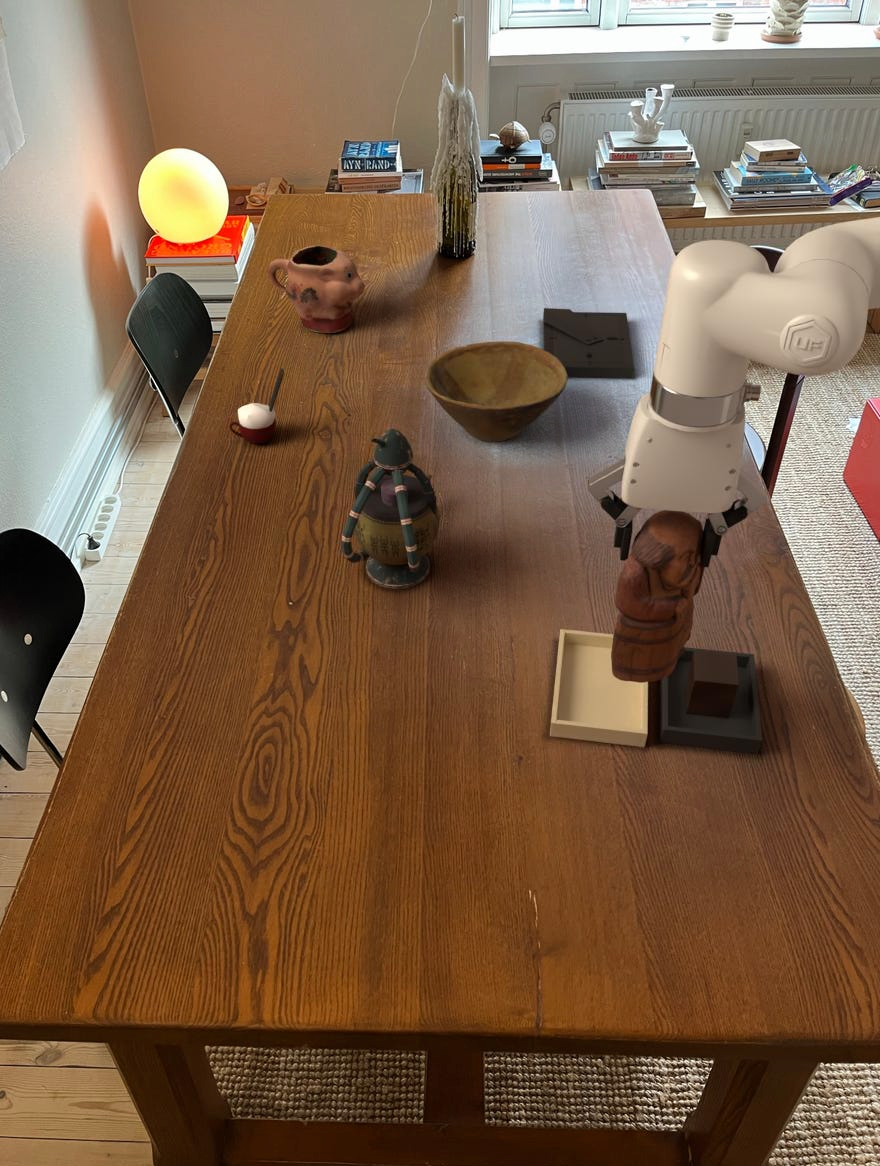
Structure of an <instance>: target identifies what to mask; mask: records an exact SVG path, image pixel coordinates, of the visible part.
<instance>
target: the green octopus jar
mask: <svg viewBox="0 0 880 1166" xmlns="http://www.w3.org/2000/svg"><path fill="white" fill-rule="evenodd" d="M370 442H371V443H375V444H376V445H375V448H374V453H373V459H371V461H370V460H369V461H367V463H365V465H364V466H363V467H362V468H361V469H359V471H358V475H357V478H356V479H355V485H354V487H353V493H354V503H353V505H352V507H351V509H350V512H349V514H348V517H347V520H346V522H345V525H344V528H343V531H342V536H341V542H340V545H341V552H342V554H343V556H344V558H345V559H346V560H347V561H348V562H350V563H351V564H354V563H355V564H356V563H360V562H366V565H365V569H366V573H367V576H368V577H369V578H370V579H371V581H372V582H373V583H375V584H377V585H379V586H381V587H384V588H388V589H397V590H398V589H399V590H401V589H406V588H411V587H413V586H416V585H418V584H420V583H421V582H422V581H424V580H425V579H426V577H428V574H429V573H430V566H431V564H430V563H431V562H430V560H429V558H428V556H427V555H426V554H427V553H428V552H429V551H430V549H431V548H432V546H433V544H434V543H435V541H436V540H437V539H438V534H439V529H440V521H441V515H440V514H441V513H440V509H439V506H438V504H437V501H438V500H437V496H436V492H435V488H434V487H433V485H432V482H431V480H432V477H433V475H431V474H429V473H424V471H423V470H422V469H421V467H418V466H416V465H415V464H413V460H414V451H413V449H412V447H411V445H410V442H409V440H408V439H407V437H406V436H405V435H404V434H403V433H402V432H401V431H399V430H397V429H395V428H392V427H391V428H390V429H388V430H386V431H385V432H384V433H383V434H382V435H381V436H380V437H379V438H378V437H377V438H372V439H371V440H370ZM375 468H376V469H375ZM374 469H375V470H374ZM372 471H373V473H372V474H371V475H370V473H371V472H372ZM407 471H409V472H410V473H412V474H413V475H414V476H412V475H408V474H406V472H407ZM369 475H370V476H369ZM354 534H355V538H356V539H355V540H356V542H357V543H358V545H359V546H360V547H361V549H360V550H359V551H358V552H355V551H354V549H353V545H352V540H353V536H354Z"/></svg>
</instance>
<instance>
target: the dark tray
mask: <svg viewBox="0 0 880 1166" xmlns="http://www.w3.org/2000/svg"><path fill="white" fill-rule="evenodd" d="M684 647H685V650H684V653H683V654H682V655H681V656H680V658H679V659H678V660H677V663H676V666H675V668H674V670H673V672H672V673H671V674H670V675H668V676H667V677H664V678H662V679H659V721H660V722H659V729H660V730H659V742H660V744H667V745H668V744H669V745H676V746H685V747H694V748H701V749H712V750H721V751H729V752H735V753H736V752H737V753H743V754H753V755H758V754H759V752H760V749H761V745H762V743H763V734H762V721H761V711H760V702H759V701H760V699H759V691H758V680H757V670H756V660H755V658H756V657H755V654H754V653H744V652H735V651H726V650H725V651H724V650H715V649H706V648H697V647H696V648H695V647H687V646H684ZM694 651H704V652H713V653H723V654H733V655H736V656H737V669H738V682H739V686H738V689H737V692H736V696H735V699H734V702H733V706H732V709H731V712H730V715H729V718H719V717H710V716H701V715H692V714H686V688H685V684H686V680H687V676H688V672H689V668H690V664H691V660H692V656H693V652H694Z"/></svg>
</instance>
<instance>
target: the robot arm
mask: <svg viewBox="0 0 880 1166" xmlns="http://www.w3.org/2000/svg"><path fill="white" fill-rule="evenodd" d="M666 286H667V287H666V293H665V298H664V304H663V312H662V317H661V322H660V330H659V336H658V341H657V349H656V355H655V361H654V366H653V373H652V379H651V383H650V384H651V385H650V389H649V391H648V392H646V393H644V394H643V395H642V396H641V397H640V399H639V401H638V403H637V406H636V407H635V410H634V414H633V417H632V421H631V424H630V427H629V432H628V436H627V439H626V445H625V450H624V452H623V453H624V454H623V457H622V459H621V460H619V461H617V462H615V463H613V464H611V465H610V466H608V467H607V468H605V469H603V470H601V471H600V472H598V473H596V474H594V475H592V476H590V477H589V478H588V479H587V490H588V492H589V493H590V494H591V495H592V497H593V498H594V499H595V500H596V501H597V502H598V503H599V504H600V507H601V509H602V510H603V511H604V512H606V513H607V515H608V516H609V517H610V518H612V519H613V520H614V524H615V531H614V536H613V537H614V538H613V548H616V549H617V548H618V549H619V561H623V562H626V561H627V559H628V557H629V556H630V549H631V544H632V543H631V542H632V536H633V529H634V528H633V527H634V526H633V525H634V524H633V523H634V521H633V519H634V518H635V517H636V516H637V515H638V514H639V513H640V511H641V510H643V509H646V510H656V511H657V510H658V511H663V510H669V511H683V512H686V513H696V514H697V513H698V514H699V513H700V514H706V515H707V517H706V518H705V521H704V525H703V534H702V539H701V552H700V562H701V566H703V567H704V568H709V567H710V563H711V559H712V556H718V555H719V551H720V547H721V543H722V538H723V536H724V535H727V533H728V532H729V529H730V528H732V527H734V526H735V525H737V524H739V523H741V522H742V521H744V520H745V519H746V518H748V515H749V514H750V513H754V512H755V511H757V510H758V509H759V508H761V507H763V506H764V505H765V504H766V503H767V502H768V497H767V490H766V488H764V487H762V486H761V485H760V483H758V482H757V481H756V480H754V479H753V478H752V477H751V476H750V474H748V473H747V472H746V471H745V470H744V469H742V468H741V466H742V460H743V453H744V441H745V432H746V431H745V430H746V407H745V404H746V403H749V402H750V401H752V402H753V401H755V402H759V401H760V398H761V393H762V391H761V390H762V385H761V384H753V383H752V382H748V378H747V374H748V370H749V367H750V362H751V361H753V362H755V363H756V362H757V363H759V364H761V365H765V366H767V367H769V368H773V369H775V370H778V371H781V372H785V373H789V374H792V375H796V376H803V377H818V376H819V377H820V376H825V375H828V374H831V373H834V372H836V371H839V370H840V369H841V368H843V367H845V366H846V365H847V364H848V363H849V362H851V361H852V360H853V359H854V357H855V356H856V355H857V353H858V352H859V351H860V349H861V347H862V344H863V342H864V338H865V334H866V331H867V323H868V314H869V310H872V309H880V216H875V217H869V218H863V219H856V220H850V221H843V222H837V223H834V224H833V223H832V224H828V225H825V226H822V227H819V228H817V229H813V230H811V231H808V232H807V233H805V234H803V235H802V236H800V237H798V238H797V239H795V240H794V241H793V242H792V243H791V244H789V245H788V246H787V247H786V248H785V250H784V251H783V253H782V254H781V255H780V256H779V258H778V260H777V263H776V265H775V267H774V269H773V272H772V271H771V270H770V268H769V263H768V261H767V258H766V257H765V256H764V255H763V254H762V253H761V252H760V251H759V250H757V249H756V248H754V247H753V246H750V245H748V244H745V243H742V242H739V241H734V240H727V239H726V240H725V239H708V240H702V241H701V240H700V241H697V242H693V243H691V244H690V245H687V246H686V247H684V248H682V249H681V250H680V251H679V252H678V254H677V255H676V256H675V257H674V258H673V261H672V263H671V266H670V269H669V274H668V279H667V285H666ZM620 482H621V497H619V496H618V495H617V494H616V493H615V492H614V491H613V490H611V489H610V487H612V486H614V485H616V484H618V483H620ZM737 491H738V492H739V493H741V495H743V496H742V497H741V498H739V499H736V500H735V498H736V494H737Z"/></svg>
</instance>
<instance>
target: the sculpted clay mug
mask: <svg viewBox="0 0 880 1166" xmlns="http://www.w3.org/2000/svg"><path fill="white" fill-rule="evenodd" d="M278 270H283V271H284V272H285V273H286V274H287V279H286V282H285V286H284V285H282V284H281V283H280V282H279V280H278V279H277V271H278ZM267 272H268V276H269V279H270V280H271V283H272V284H273V285H274V286H275V287H278V288H279V289H281V290H282V291H283V292H284V293H285V294H286V296H287V299H288V300H289V301H290V303H291V304H292V305H293V306H294V308H295V310H296V312H297V313H298V316H299V318H300V321H301V324H302V326H303V327H304V329H306V330H309V331H311V332H315V333H323V334H334V333H339V332H341V331H343V330H345V329H346V328H348V327H349V326H351V325H352V322H353V319H354V308H353V303H354V301H355V300H357V299H358V298H359V297H361V296H362V295H363V294H364V292H365V289H366V285H365V282H364V281H363V280H362V278H361V275H360V274H359V272H358V269H357V267H356V264H355V262H354V261H353V260H352V259H351V258H350V257H349V256H348V255H347V254H346V252H345V251H342V250H339V249H336V248H334V247H330V246H327V245H310V246H306V247H303V248H300V249H298V250H296V251H295V252H294V253H292V254H291V256H290V258H276V259H274V260H272V261H271V262H270V263H269V265H268V267H267Z"/></svg>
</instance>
